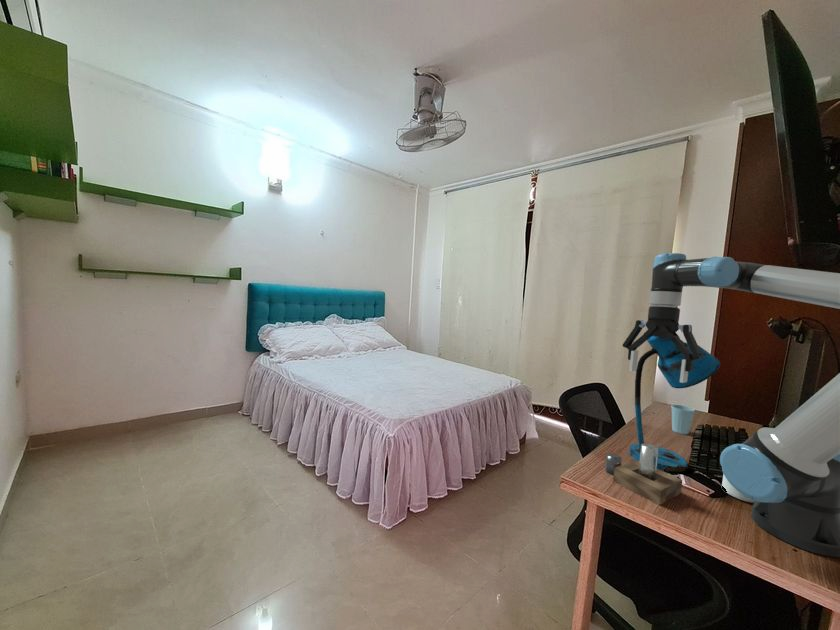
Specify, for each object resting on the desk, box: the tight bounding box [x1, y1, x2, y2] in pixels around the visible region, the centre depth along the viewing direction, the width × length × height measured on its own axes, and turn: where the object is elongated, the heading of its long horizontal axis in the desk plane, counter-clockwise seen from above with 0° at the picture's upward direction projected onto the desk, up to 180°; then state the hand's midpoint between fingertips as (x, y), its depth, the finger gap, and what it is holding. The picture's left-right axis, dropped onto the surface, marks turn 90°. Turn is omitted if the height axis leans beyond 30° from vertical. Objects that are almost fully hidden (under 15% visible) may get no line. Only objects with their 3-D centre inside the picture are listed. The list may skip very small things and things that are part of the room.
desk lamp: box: [628, 336, 721, 471], centre depth 109 cm, size 16×22×45 cm
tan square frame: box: [612, 459, 683, 506], centre depth 93 cm, size 12×12×4 cm
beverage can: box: [721, 473, 756, 504], centre depth 92 cm, size 8×8×12 cm
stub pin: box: [604, 452, 622, 476], centre depth 100 cm, size 4×4×5 cm
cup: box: [670, 404, 696, 435], centre depth 137 cm, size 8×8×10 cm
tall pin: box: [638, 442, 658, 481], centre depth 93 cm, size 4×4×12 cm
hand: (656, 376), depth 99 cm, fingers open, 13 cm apart
